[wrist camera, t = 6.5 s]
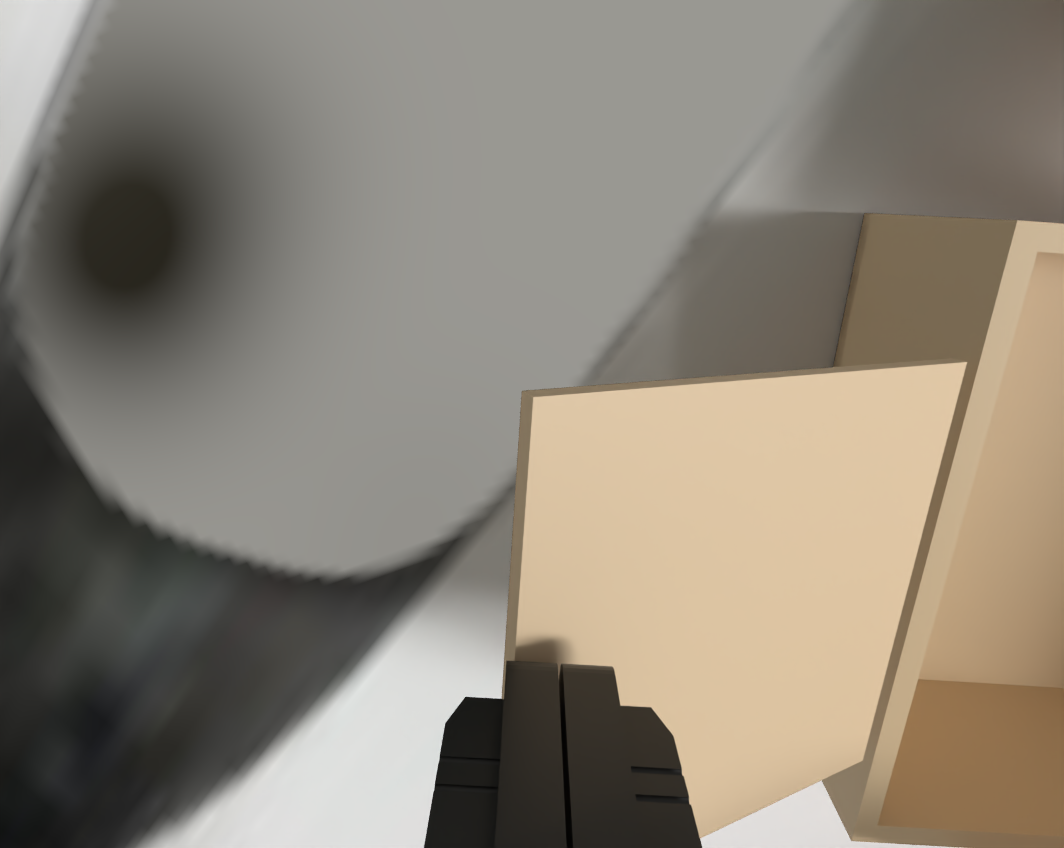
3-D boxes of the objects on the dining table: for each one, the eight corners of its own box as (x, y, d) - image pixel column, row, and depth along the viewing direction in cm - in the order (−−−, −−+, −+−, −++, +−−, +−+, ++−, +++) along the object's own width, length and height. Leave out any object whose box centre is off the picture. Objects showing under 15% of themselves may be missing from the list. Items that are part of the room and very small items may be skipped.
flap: (967, 361, 13) (951, 358, 13) (532, 396, 9) (522, 390, 9) (862, 760, 16) (851, 751, 16) (495, 936, 11) (486, 920, 12)
